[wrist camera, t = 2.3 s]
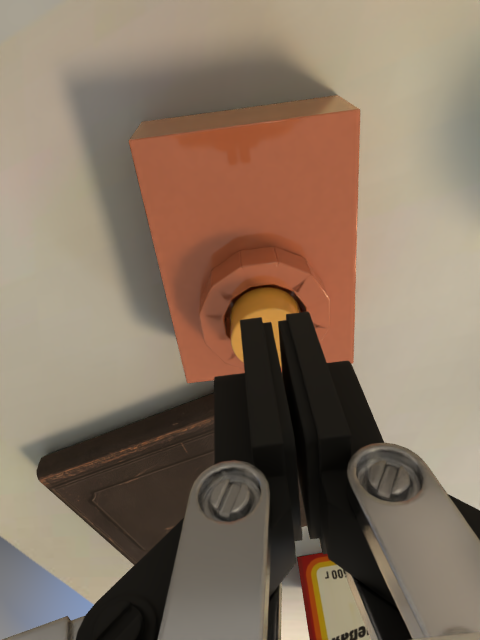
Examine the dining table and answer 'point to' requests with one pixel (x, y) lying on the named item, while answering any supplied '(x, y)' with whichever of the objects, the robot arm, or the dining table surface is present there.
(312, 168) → the push button box
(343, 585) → the baking soda box
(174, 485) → the hardcover book
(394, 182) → the dining table surface
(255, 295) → the yellow push button
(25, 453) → the dining table surface
